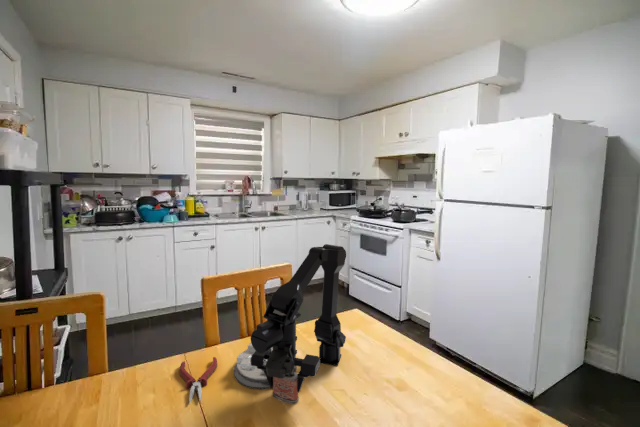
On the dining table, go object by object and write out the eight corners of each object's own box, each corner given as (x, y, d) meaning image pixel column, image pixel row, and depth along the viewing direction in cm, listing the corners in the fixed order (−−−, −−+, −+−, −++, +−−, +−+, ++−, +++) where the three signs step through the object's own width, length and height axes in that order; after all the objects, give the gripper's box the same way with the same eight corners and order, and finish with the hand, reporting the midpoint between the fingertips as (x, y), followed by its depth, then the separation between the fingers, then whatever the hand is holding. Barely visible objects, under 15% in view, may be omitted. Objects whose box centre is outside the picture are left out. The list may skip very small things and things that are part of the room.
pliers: (171, 410, 85) (171, 401, 84) (180, 367, 104) (180, 360, 103) (216, 402, 88) (216, 393, 88) (217, 362, 107) (217, 354, 107)
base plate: (304, 356, 110) (304, 353, 110) (283, 394, 91) (283, 390, 91) (251, 348, 115) (251, 345, 115) (221, 382, 96) (221, 378, 96)
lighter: (300, 398, 89) (301, 365, 88) (295, 406, 86) (295, 371, 85) (276, 389, 93) (276, 357, 92) (270, 397, 90) (269, 363, 89)
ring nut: (300, 353, 109) (301, 342, 109) (281, 386, 92) (281, 373, 91) (253, 346, 114) (252, 335, 113) (225, 376, 96) (225, 363, 96)
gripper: (240, 346, 82) (240, 401, 84) (309, 357, 77) (308, 416, 79) (259, 326, 93) (259, 376, 95) (321, 335, 88) (320, 388, 90)
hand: (285, 389), depth 89 cm, fingers closed on lighter, 8 cm apart
